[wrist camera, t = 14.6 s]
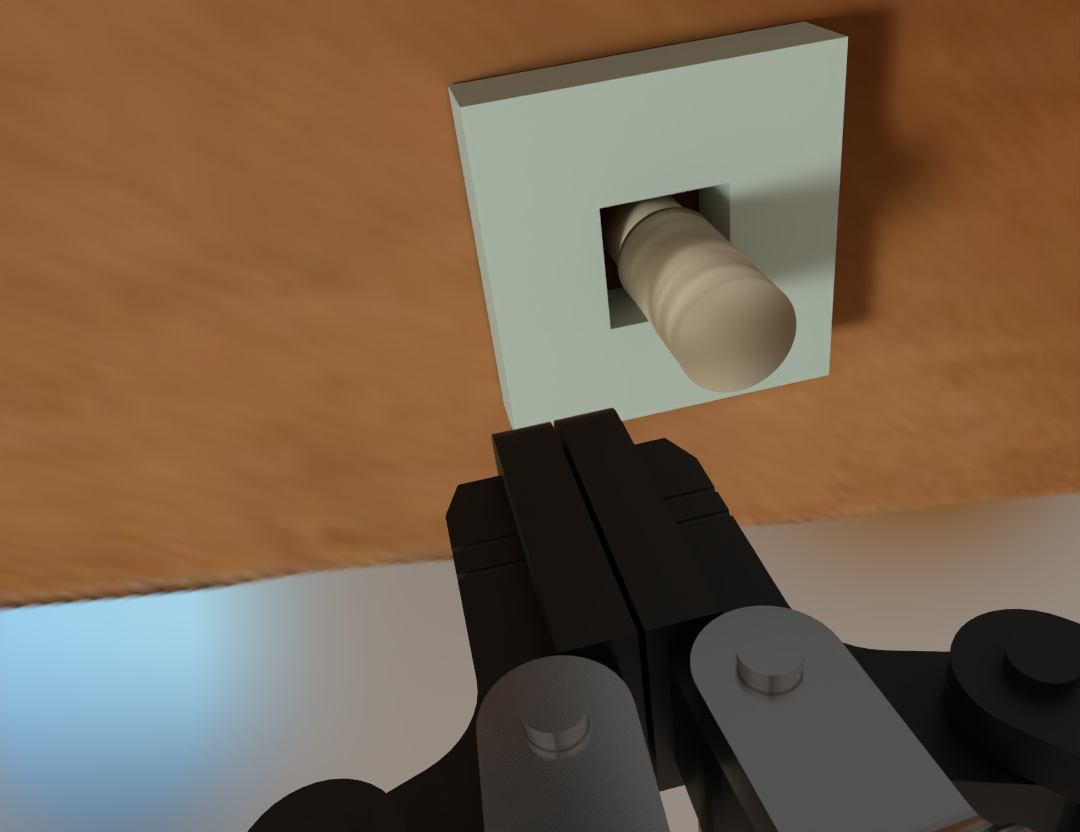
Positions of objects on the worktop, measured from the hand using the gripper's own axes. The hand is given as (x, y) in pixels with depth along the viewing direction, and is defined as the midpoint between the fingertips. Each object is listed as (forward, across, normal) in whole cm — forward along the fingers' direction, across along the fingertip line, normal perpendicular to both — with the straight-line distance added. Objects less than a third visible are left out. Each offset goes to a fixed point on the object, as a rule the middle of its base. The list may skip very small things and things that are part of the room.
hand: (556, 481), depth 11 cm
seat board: (+31, -10, +10) cm, 34 cm away
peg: (+31, -10, +10) cm, 34 cm away
